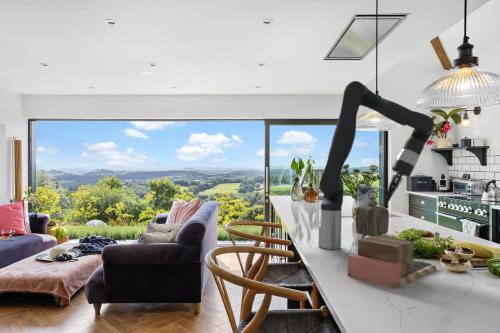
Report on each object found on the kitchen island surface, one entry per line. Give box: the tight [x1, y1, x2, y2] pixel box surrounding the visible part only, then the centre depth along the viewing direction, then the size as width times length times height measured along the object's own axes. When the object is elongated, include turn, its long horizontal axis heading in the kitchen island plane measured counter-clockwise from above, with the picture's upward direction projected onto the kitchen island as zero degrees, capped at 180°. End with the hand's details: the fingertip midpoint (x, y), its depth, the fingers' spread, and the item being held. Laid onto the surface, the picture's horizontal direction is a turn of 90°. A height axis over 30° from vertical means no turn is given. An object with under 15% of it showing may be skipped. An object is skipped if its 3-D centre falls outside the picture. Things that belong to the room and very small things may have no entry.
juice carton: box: [356, 183, 377, 209], centre depth 210 cm, size 9×10×27 cm
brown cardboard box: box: [357, 235, 414, 276], centre depth 128 cm, size 12×14×10 cm
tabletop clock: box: [355, 191, 390, 239], centre depth 183 cm, size 14×9×25 cm, turn 123°
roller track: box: [347, 253, 437, 289], centre depth 133 cm, size 32×17×7 cm, turn 133°
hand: (386, 200), depth 150 cm, fingers closed
